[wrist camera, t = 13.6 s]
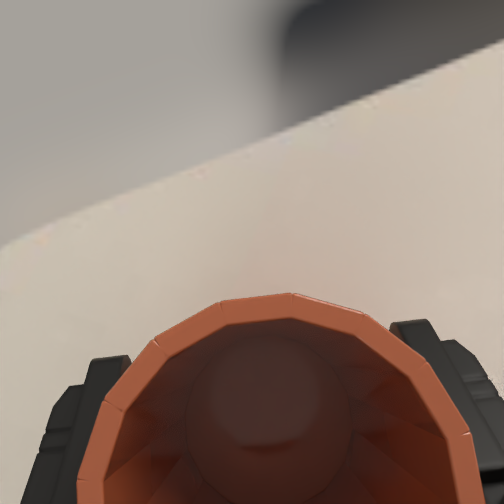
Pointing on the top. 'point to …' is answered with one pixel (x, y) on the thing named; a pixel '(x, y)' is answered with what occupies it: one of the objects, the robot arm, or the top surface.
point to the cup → (279, 415)
